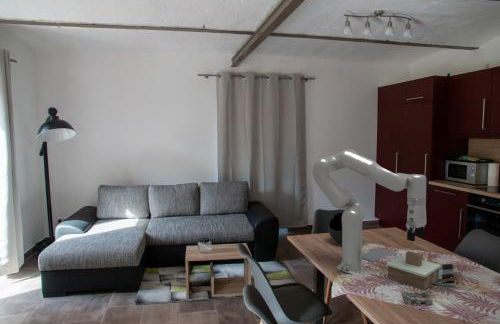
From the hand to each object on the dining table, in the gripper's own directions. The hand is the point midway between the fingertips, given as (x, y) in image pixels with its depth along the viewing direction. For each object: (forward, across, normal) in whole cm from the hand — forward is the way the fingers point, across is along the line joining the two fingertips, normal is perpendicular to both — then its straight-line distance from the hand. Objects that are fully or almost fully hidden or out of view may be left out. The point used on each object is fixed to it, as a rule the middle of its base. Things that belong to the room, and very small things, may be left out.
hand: (415, 238), depth 152 cm
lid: (+13, 0, +1) cm, 13 cm away
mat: (+20, +18, +23) cm, 35 cm away
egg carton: (+21, -19, -9) cm, 30 cm away
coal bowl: (+20, +22, +53) cm, 60 cm away
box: (+20, 0, +1) cm, 20 cm away
